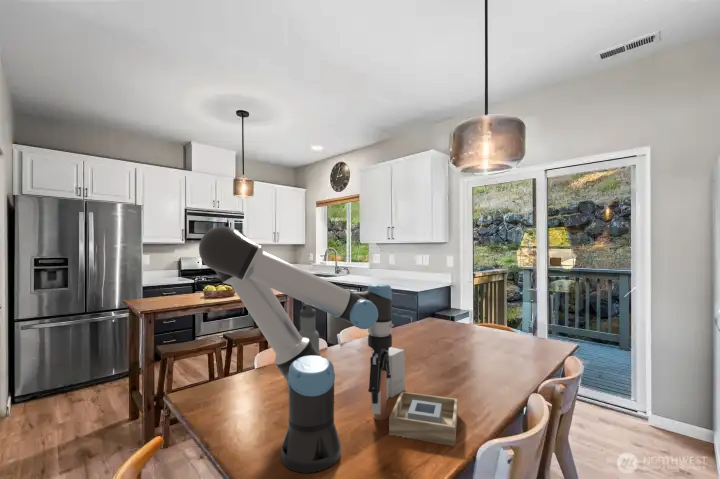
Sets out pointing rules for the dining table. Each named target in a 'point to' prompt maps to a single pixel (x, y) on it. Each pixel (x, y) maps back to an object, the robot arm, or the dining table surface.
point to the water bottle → (309, 325)
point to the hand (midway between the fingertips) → (380, 405)
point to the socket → (425, 411)
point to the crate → (424, 429)
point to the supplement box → (396, 371)
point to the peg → (382, 398)
